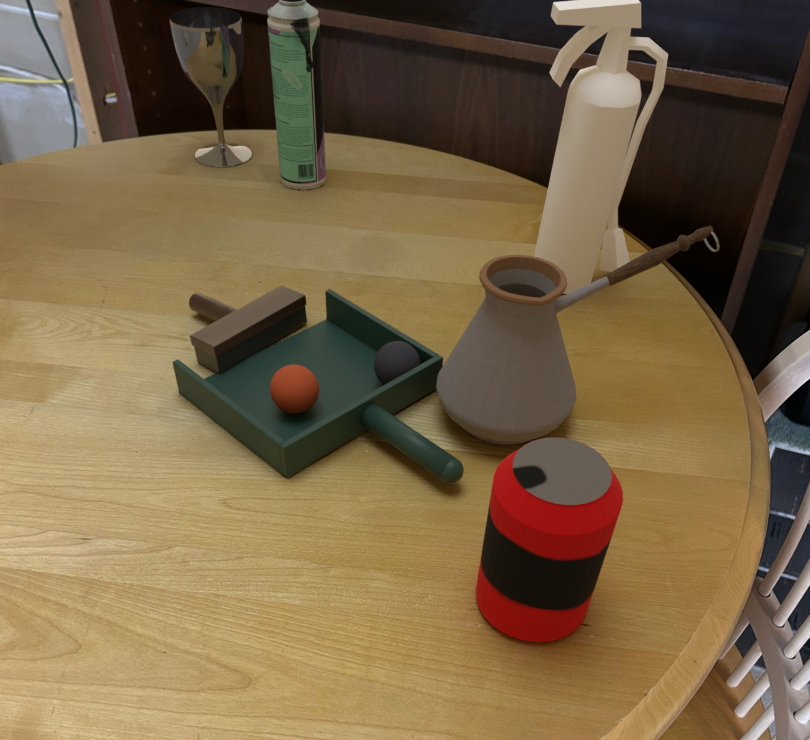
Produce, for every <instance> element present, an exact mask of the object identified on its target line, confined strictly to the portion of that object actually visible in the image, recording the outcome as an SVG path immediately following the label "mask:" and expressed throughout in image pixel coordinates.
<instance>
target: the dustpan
mask: <svg viewBox="0 0 810 740" xmlns="http://www.w3.org/2000/svg"><path fill="white" fill-rule="evenodd" d="M324 294H325V295H324V296H325V310H326V311H325V312H326V313H325V316H326V317H325V318H326V319H324V320H322V321H320V322H318V323H315V324H314V325H311V326H310V327H308V328H305V329H303V330H302V331H299V332H297V333H295V334H292V335H290V336H289V337H287V338H285V339H283V340H281V341H279V342H277V343H274V344H271V345H269V346H267V348H266V347H265V348H263V349H261V350H260V351H258V352H256V353H255V354H253V355H251V356H250V357H248V358H246V359H244V360H243V361H241V362H239V363H238V364H236V365H234V366H233V367H231V368H229V369H228V370H226V371H224V372H223V373H221V374H219V373H217V372H215V373H212V374H211V375H209V376H206V377H204V378H203V376H201V375H199V374H198V372H195V370H193V369H192V368H191V367H189V366H188V365H186V364H185V363H184V362H183V361H181V360H180V359H176V360H173V361H172V367H173V372H174V375H175V376H174V377H175V381H176V385H177V390H178V394H180V395H181V397H183V398H184V399H186V400H187V401H188V402H189V403H191V404H192V405H193V406H194V407H196V408H197V409H198V410H200V411H201V412H202V413H203V414H204V415H205V416H207V417H208V418H209V419H211V420H212V421H213V422H215V424H217V425H218V426H219V427H221V428H222V429H223V430H224V431H226V432H227V433H228V434H230V435H231V436H232V437H233V438H234V439H236V440H237V441H238V442H240V443H241V444H242V445H243V446H244V447H246V448H247V449H248V450H250V452H252V453H253V454H255V455H256V456H257V457H258V458H259V459H261V460H262V461H264V463H266V464H267V465H268V466H269V467H271V468H272V469H273V470H275V472H278V474H279V475H281V476H284V477H286V478H289V477H290V476H292V475H294V474H295V473H297V472H299V471H300V470H302V469H303V468H305V467H307V466H309V465H310V464H312V463H314V462H316V461H317V460H319V459H320V458H323V457H324V456H325V455H327V454H329V453H330V452H332V451H334V450H336V449H338V448H339V447H341V446H342V445H344V444H345V443H347V442H349V441H351V440H352V439H354V438H356V437H357V436H359V435H360V434H363V433H364V432H366V431H370V432H372V433H373V434H374V435H376V436H377V437H378V438H380V439H382V440H383V441H385V442H386V443H387V444H388V445H390V446H392V447H393V448H395V450H397V451H399V452H400V453H402V454H403V455H404V456H406V457H407V458H409V459H410V460H412V461H413V462H414V463H415V464H417V465H419V466H420V467H421V468H423V469H425V470H426V471H428V472H429V473H430V474H431V475H433V476H434V477H436V478H437V479H439V480H440V481H442V482H443V483H445V484H450V485H452V484H456V483H458V482H459V481H460V480H461V479H462V478H463V476H464V473H465V470H464V469H465V468H464V465H463V462H461V460H460V459H458V458H457V457H455V456H454V455H452V454H451V453H449V452H447V451H446V450H445V449H444V448H442V447H440V446H439V445H437V444H436V443H434V442H433V441H432V440H430V439H429V438H427V437H426V436H424V435H422V434H421V433H419V432H418V431H417V430H416V429H414V428H413V427H411V426H409V425H408V424H406V423H405V422H404V421H401V420H400V419H399V418H397V417H396V416H394V415H395V414H396V413H398V412H399V411H401V410H403V409H404V408H406V407H408V406H409V405H411V404H413V403H414V402H416V401H418V400H420V399H422V398H423V397H425V396H427V395H429V393H432V392H434V391H435V390H437V389H436V384H437V377H438V373H439V372H440V370H441V368H442V367H443V365H444V357H443V356H442V355H441V354H438V353H437V352H435V351H434V350H432V349H430V348H428V347H427V346H426V345H424V344H422V343H421V342H419V341H417V340H415V339H414V338H412V337H411V336H409V335H407V334H406V333H404V332H402V331H400V330H399V329H397V328H396V327H394V326H393V325H391V324H389V323H388V322H385V321H384V320H382V319H381V318H379V317H377V316H375V315H374V314H372V313H371V312H369V311H367V310H366V309H364V308H363V307H361V306H359V305H357V304H356V303H354V302H353V301H351V300H349V299H348V298H345V297H344V296H342V294H340V293H337V292H336V291H334V290H333V289H331V288H328V289H327V290H325V292H324ZM393 341H402V342H405V343H407V344H409V345H411V346H412V347H413V348H414V349H415V350H416V351H417V353H418V355H419V358H420V362H421V365H419V366H417V367H415V368H414V369H412V370H410V371H408V372H407V373H405V374H403V375H401V376H399V377H398V378H396V379H394V380H392V381H391V382H389V383H387V384H385V385H384V384H382V383H381V382H380V381H379V379H378V378H377V376H376V374H375V370H374V360H375V356H376V354H377V352H378V351H379V350H380V348H381V347H382V346H384V345H385V344H387V343H389V342H393ZM287 365H301V366H303V367H306V368H307V369H309V370H310V371H311V372H312V373H313V374H314V375H315V377H316V379H317V381H318V384H319V396H318V399H317V401H316V403H315V404H314V406H313V407H312V408H311V409H309V410H308V411H306V412H304V413H301V414H290V413H286V412H284V411H282V410H281V409H279V408H278V407H277V406H276V404H275V403H274V402H273V400H272V397H271V394H270V384H271V380H272V378H273V376H274V375H275V373H276V372H277V371H278V370H279V369H281V368H282V367H284V366H287Z"/></svg>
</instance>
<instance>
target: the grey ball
mask: <svg viewBox="0 0 810 740" xmlns="http://www.w3.org/2000/svg"><path fill="white" fill-rule="evenodd" d="M419 365H421V362H420V358H419V355H418V353H417V351H416V350H415V349H414V348H413V347H412V346H411V345H409V344H407V343H405V342H402V341H393V342H389V343H387V344H385V345H384V346H382V347H381V348H380V350H379V351H378V352H377V354H376V356H375V360H374V370H375V374H376V376H377V378H378V379H379V381H380V382H381V383H382V384H384V385H385V384H387V383H389V382H391V381H392V380H394V379H396V378H398V377H399V376H401V375H403V374H405V373H407V372H408V371H410V370H412V369H414V368H415V367H417V366H419Z"/></svg>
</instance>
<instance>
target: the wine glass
mask: <svg viewBox="0 0 810 740" xmlns="http://www.w3.org/2000/svg"><path fill="white" fill-rule="evenodd" d="M169 25H170V32H171V36H172V42H173V46H174V50H175V53H176V56H177V60H178V62H179V66H180V68H181V70H182V72H183V73H184V75H185V77H186V78H187V80H188V81H189V82H190V83H191V84H192V85H193V86H194V87H195V88H196V89H197V91H199V92H200V93H201V94H202V95H203V96H204V98H205V99H206V100H207V102H208V103H209V106H210V108H211V110H212V113H213V117H214V121H215V127H216V131H217V139H218V140H217V141H218V142H215V143H212V144H208V145H205V146H202V147H200V148H199V149H197V150H196V151H195V154H194V158H195V160H196V161H197V162H198V163H200V164H202V165H205V166H208V167H215V168H229V167H234V166H238V165H242V164H244V163H246V162H248V161H250V160H251V159H252V157H253V151H252V150H251V149H250V148H249V147H247V146H245V145H242V144H239V143H233V142H226V139H225V138H226V137H225V130H224V105H225V102H226V99H227V96H228V95H229V93H230V91H231V90H232V88H233V87H234V86H235V84H236V82H237V81H238V79H239V76H240V75H241V72H242V68H243V63H244V50H245V49H244V48H245V47H244V46H245V45H244V44H245V43H244V41H245V40H244V28H243V27H244V26H243V19H242V16H241V14H240V13H239V12H237V11H235V10H233V9H229V8H225V7H224V8H223V7H215V6H197V7H190V8H183V9H180V10H177V11H175V12H173V13H172V14H170V16H169Z"/></svg>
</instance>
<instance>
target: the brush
mask: <svg viewBox="0 0 810 740" xmlns="http://www.w3.org/2000/svg"><path fill="white" fill-rule="evenodd" d="M188 306H189V308H190V309H189V310H191V311H192V312H195V313H197V314H198V315H201V316H203V317H205V318H208V319H210V320H211V321H213V322H212V323H210V324H208V325H206V326H204V327H203V328H201V329H199V330H197V331H195V332H193V333H192V334H190V335H189V339H190V343H191V346H192V347H193V348H194V353H195V356H196V357H195V358H196V362H197V363H198V364H199V365H201V366H203V367H205V368H207V369H209V370H211V371H213V372H215V373H219V374H221V373H223V372H224V371H226V370H228V369H229V368H231V367H233V366H234V365H236V364H238V363H239V362H241V361H243V360H244V359H246V358H248V357H250V356H252V355H254V354H256V353H258V352H260V351H262V350H264V349H266V347H269V346H271V345H272V344H273V343H274V342H276V341H278V340H280V339H282V338H283V337H285V336H287V335H288V334H290V333H292V332H293V331H295V330H297V329H298V328H300V327H302V326H303V325H305V324H307V323H308V317H307V310H306V306H307V296H306V294H304V293H301V292H298V291H296V290H294V289H291V288H289V287H286V286H283V285H280V286H277V287H276V288H273V289H271V290H270V291H268V292H267V293H265V294H263V295H261V296H260V297H257V298H255V299H254V300H252V301H250V302H249V303H247V304H245V305H243V306H241V307H239V308H235V307H233V306H231V305H229V304H226V303H224V302H222V301H219V300H217V299H215V298H213V297H210V296H208V295H206V294H203V293H201V292H199V291H198V292H194V293H193V294H191V296H190V297H189V301H188Z"/></svg>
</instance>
